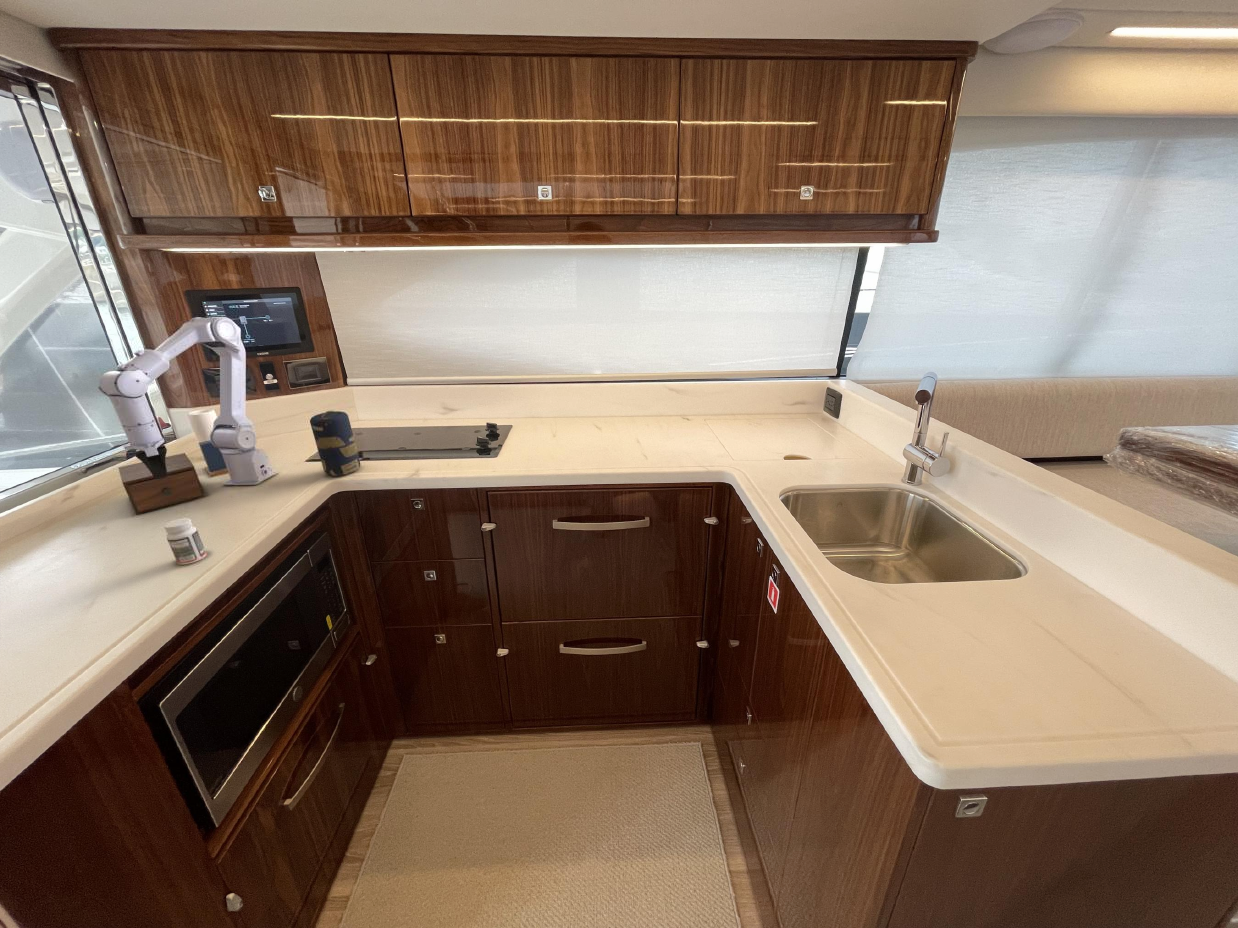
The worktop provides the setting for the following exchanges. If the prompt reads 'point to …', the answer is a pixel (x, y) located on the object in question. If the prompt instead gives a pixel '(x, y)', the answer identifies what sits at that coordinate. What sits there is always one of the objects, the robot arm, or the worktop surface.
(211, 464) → the book
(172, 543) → the pill bottle
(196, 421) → the white tapered cylinder
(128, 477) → the wooden box
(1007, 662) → the worktop surface
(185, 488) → the drawer
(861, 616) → the worktop surface
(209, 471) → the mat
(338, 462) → the canister
